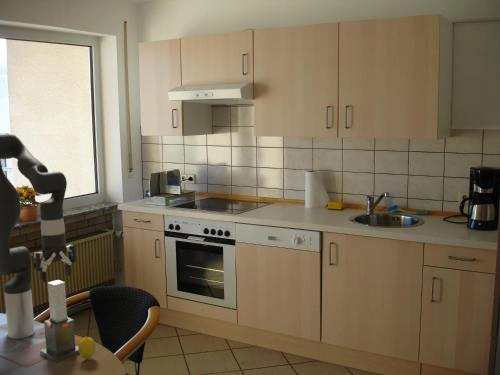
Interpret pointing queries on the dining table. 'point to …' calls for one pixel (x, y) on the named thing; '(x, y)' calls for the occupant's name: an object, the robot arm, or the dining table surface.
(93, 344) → the lemon
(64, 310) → the column
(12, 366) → the dining table surface
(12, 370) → the dining table surface
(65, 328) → the stand base
